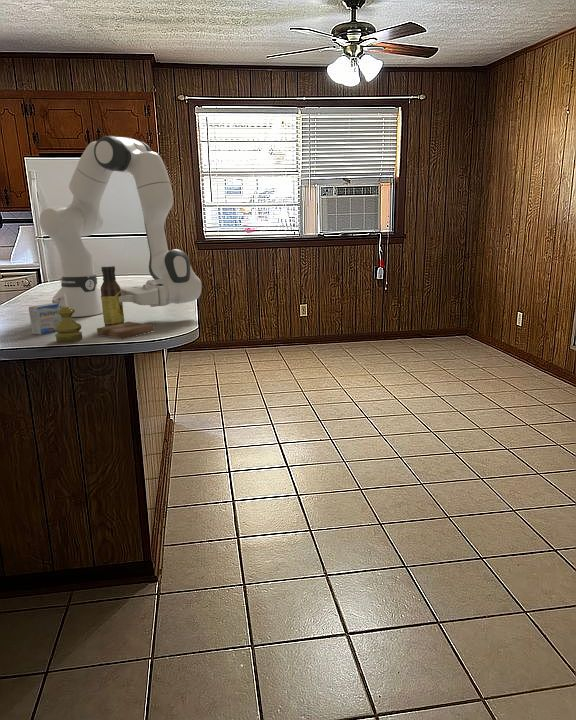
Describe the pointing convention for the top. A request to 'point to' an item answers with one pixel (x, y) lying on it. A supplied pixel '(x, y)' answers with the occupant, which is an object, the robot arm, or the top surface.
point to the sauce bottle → (111, 298)
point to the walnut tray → (125, 330)
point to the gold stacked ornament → (67, 327)
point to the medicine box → (44, 318)
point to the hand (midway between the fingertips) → (113, 297)
